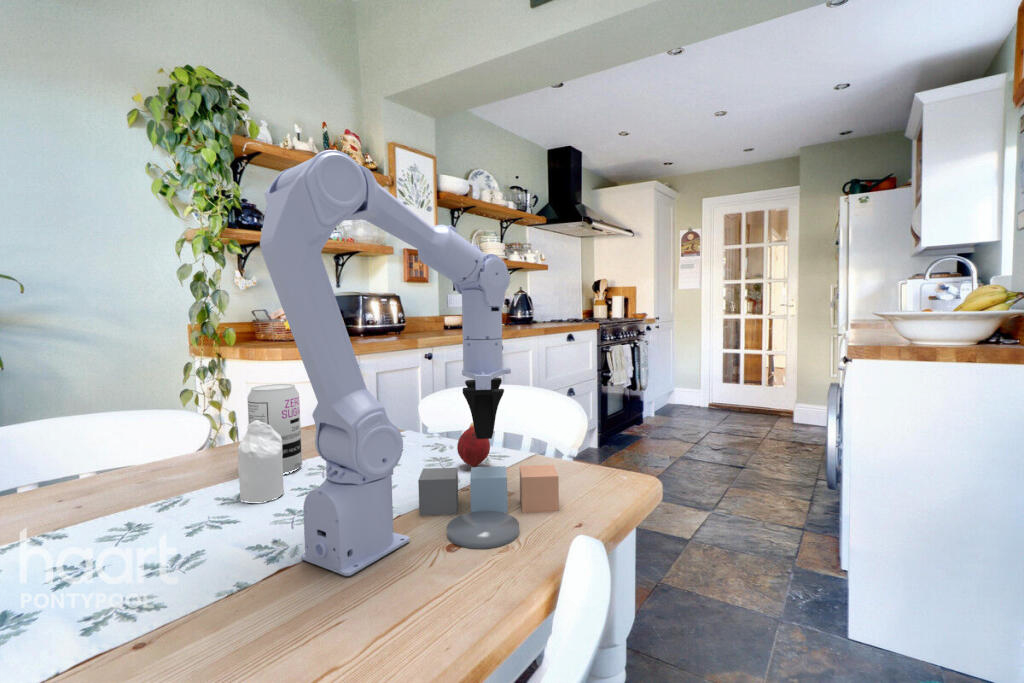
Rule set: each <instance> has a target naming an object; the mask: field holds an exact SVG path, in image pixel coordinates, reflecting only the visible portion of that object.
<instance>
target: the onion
mask: <svg viewBox="0 0 1024 683" xmlns="http://www.w3.org/2000/svg"><path fill="white" fill-rule="evenodd" d="M456 446H457V448H456V450H457V454H458V457H459V458H460V459H461V460H462V462H464V463H465V464H466V465H468V466H470V467H479V466H480V464H482V463H483V462H484V461H485V460H486V459H487V458H488V456H489V454H490V450H491V442H490V439H477V437H476V434H475V430H474V425H473V422H471V423H470V425H469V428H468V429H466V430H464V431H463V433H462V434H461V435H460V437H459V439H458V442H457V445H456Z"/></svg>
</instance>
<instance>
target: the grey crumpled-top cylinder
mask: <svg viewBox="0 0 1024 683" xmlns="http://www.w3.org/2000/svg"><path fill="white" fill-rule="evenodd" d="M282 455H283V453H282V439H281V436H280V435H279V434H278V433H277V432H276V431H274V429H273V428H272V427H271V426H270V425H267V424H266V423H263V422H260V421H258V420H256V421H253V422H252V423H250V424H249V423H248V425H247V431H246V432H245V435H244V436H243V437H242V439H241V441H240V442H239V445H238V447H237V461H238V462H237V465H238V482H239V495H240V496H239V498H240V501H241V500H243V501H249V502H264V501H268V500H272V499H274V498H277V497H279V496H281V495H282V494H283V493H284V494H285V490H284V489H285V488H284V475H283V465H282ZM284 494H283V495H284ZM283 495H282V496H283ZM282 496H281V497H282Z"/></svg>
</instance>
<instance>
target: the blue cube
mask: <svg viewBox="0 0 1024 683" xmlns="http://www.w3.org/2000/svg"><path fill="white" fill-rule="evenodd" d="M470 467H471V466H470ZM469 479H470V480H469V481H470V482H469V484H470V486H469V487H470V513H471V512H477V511H496V512H502V513H506V514H508V512H509V511H508V510H509V509H508V508H509V507H508V505H509V504H508V475H507V467H506V465H505V466H504V465H503V466H501V465H500V466H499V465H498V466H496V465H495V466H477V467H471V468H470V478H469Z"/></svg>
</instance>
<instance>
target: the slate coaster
mask: <svg viewBox="0 0 1024 683" xmlns="http://www.w3.org/2000/svg"><path fill="white" fill-rule="evenodd" d="M519 535H520V522H519V520H518V519H517V518H516V517H515V516H513V515H510V514H508V513H502V512H496V511H477V512H471V511H470V512H467V513H463V514H460V515H458V516H456V517H454V518H452V519H451V520H449V522H448V524H447V526H446V536H447V539H448V540H449V541H450V542H451V543H453V544H454V545H457V546H459V547H462V548H468V549H476V550H486V549H493V548H498V547H503V546H505V545H507V544H510V543H512V542H513V541H514V540H515V539H517V538H518V537H519Z"/></svg>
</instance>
